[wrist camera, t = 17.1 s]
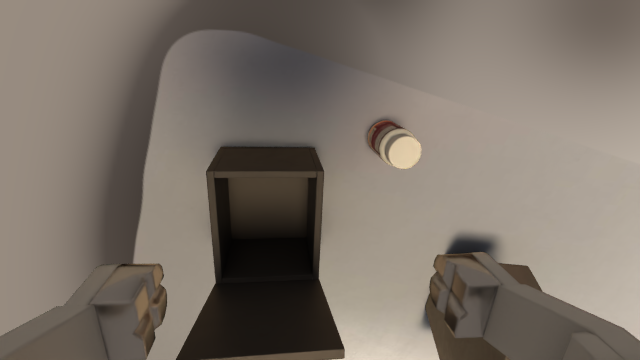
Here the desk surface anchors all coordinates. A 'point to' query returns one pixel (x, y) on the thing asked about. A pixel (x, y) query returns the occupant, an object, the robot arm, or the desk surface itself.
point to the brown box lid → (264, 323)
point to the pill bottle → (394, 144)
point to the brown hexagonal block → (474, 353)
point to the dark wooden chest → (265, 213)
